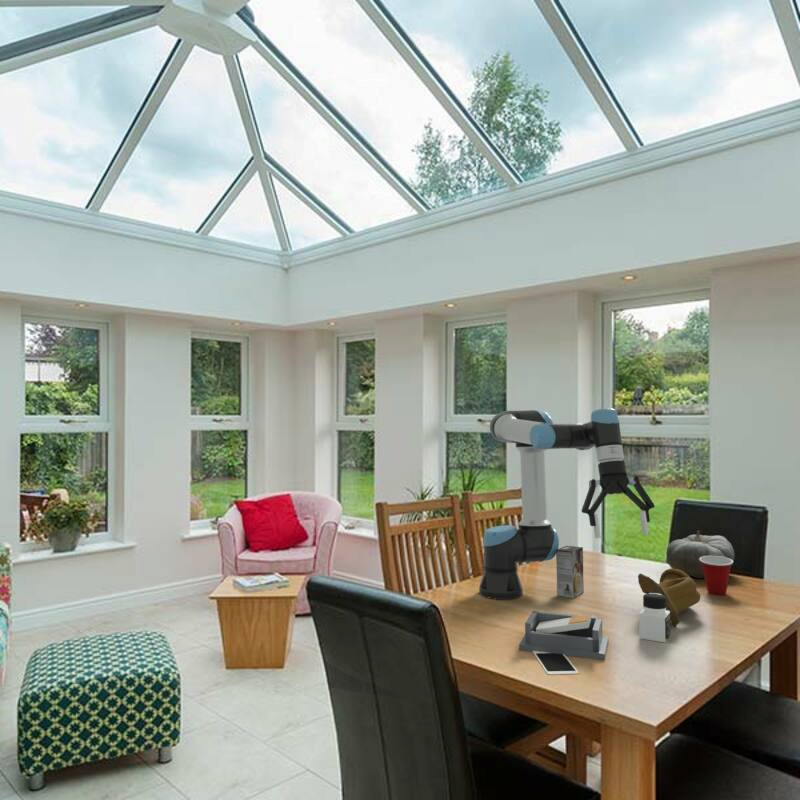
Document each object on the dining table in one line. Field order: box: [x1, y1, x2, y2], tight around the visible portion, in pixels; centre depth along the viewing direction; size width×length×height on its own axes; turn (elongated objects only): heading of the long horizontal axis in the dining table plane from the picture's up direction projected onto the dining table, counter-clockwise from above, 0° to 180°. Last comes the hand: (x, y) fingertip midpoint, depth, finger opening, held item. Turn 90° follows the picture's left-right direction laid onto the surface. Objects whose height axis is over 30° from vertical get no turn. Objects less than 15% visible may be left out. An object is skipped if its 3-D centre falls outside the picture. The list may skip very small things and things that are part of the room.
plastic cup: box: [699, 556, 734, 596], centre depth 234 cm, size 11×11×12 cm
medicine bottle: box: [638, 593, 672, 644], centre depth 188 cm, size 7×7×12 cm
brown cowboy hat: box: [637, 568, 701, 627], centre depth 209 cm, size 23×16×28 cm
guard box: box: [518, 610, 609, 661], centre depth 182 cm, size 22×14×7 cm, turn 69°
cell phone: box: [532, 651, 580, 676], centre depth 170 cm, size 8×16×1 cm, turn 2°
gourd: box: [666, 530, 735, 579], centre depth 262 cm, size 25×25×17 cm
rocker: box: [536, 614, 591, 633], centre depth 182 cm, size 14×7×2 cm, turn 69°
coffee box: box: [555, 545, 584, 599], centre depth 235 cm, size 9×6×16 cm
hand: (621, 536), depth 188 cm, fingers open, 13 cm apart
